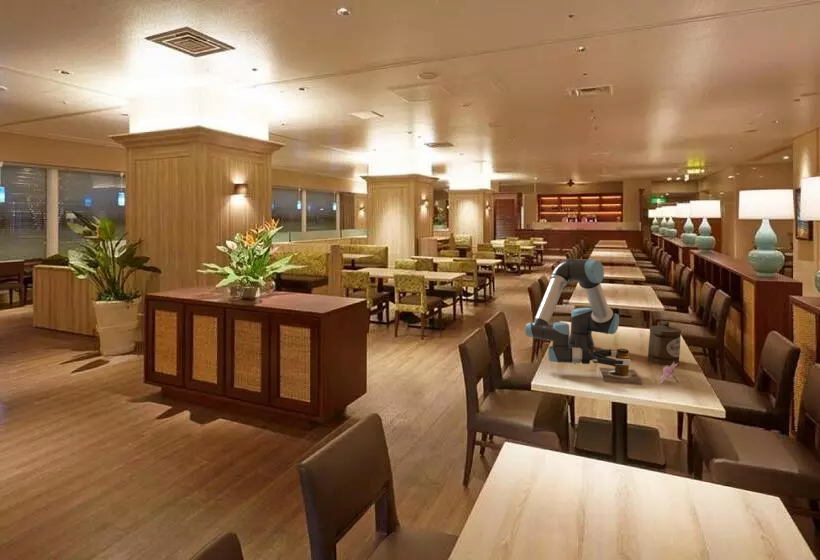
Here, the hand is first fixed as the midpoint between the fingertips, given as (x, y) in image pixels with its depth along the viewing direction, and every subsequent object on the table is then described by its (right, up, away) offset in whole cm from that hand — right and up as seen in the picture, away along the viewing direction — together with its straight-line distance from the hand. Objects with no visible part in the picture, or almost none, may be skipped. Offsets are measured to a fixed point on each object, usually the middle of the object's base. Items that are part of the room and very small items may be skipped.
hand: (628, 358), depth 247 cm
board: (-3, -9, +2) cm, 10 cm away
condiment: (-3, -8, +1) cm, 9 cm away
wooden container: (+30, -6, +27) cm, 40 cm away
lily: (+16, -10, -6) cm, 20 cm away
